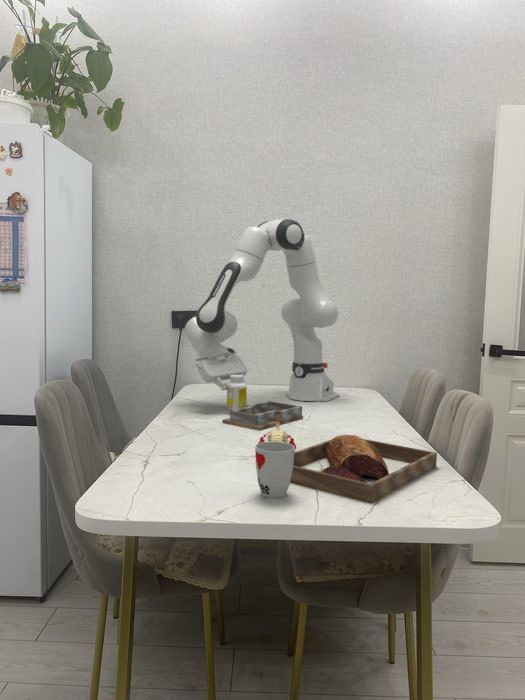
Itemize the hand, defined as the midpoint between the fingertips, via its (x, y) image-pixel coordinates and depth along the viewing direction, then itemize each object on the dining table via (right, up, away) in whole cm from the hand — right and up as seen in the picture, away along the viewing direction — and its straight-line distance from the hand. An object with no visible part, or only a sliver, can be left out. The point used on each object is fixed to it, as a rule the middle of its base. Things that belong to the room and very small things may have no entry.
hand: (234, 387), depth 204 cm
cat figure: (+13, -14, -48) cm, 52 cm away
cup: (+12, -17, -80) cm, 83 cm away
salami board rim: (+31, -16, -64) cm, 73 cm away
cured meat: (+30, -16, -64) cm, 73 cm away
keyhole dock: (+10, -10, -12) cm, 18 cm away
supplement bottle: (+1, -9, 0) cm, 9 cm away
